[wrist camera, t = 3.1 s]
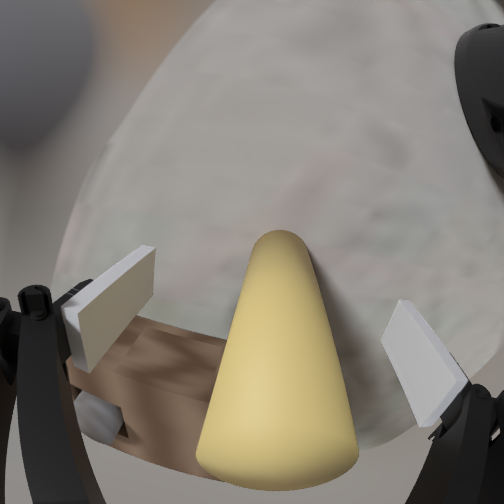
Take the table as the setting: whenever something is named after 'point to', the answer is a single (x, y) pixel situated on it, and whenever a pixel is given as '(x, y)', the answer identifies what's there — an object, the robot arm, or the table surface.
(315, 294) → the peg
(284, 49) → the table surface
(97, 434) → the hole block
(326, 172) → the table surface
